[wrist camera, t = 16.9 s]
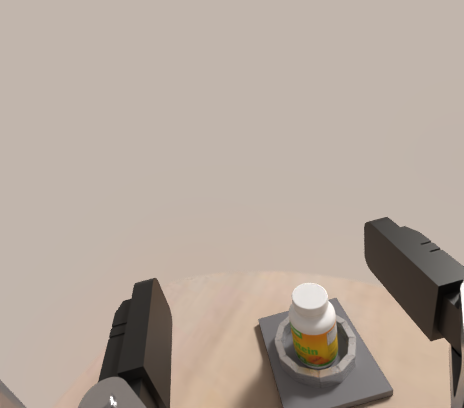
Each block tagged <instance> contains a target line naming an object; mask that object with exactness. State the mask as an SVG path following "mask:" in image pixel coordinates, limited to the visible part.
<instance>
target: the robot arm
mask: <svg viewBox="0 0 464 408" xmlns="http://www.w3.org/2000/svg"><path fill="white" fill-rule="evenodd" d="M364 237H365V238H364V242H365V243H364V245H365V259H366V262H367V265H368V267H369V269H370V270H371V271H372V273H373V274H374V275H375V276H376V277H377V278H378V280H379V281H380V282H381V283H382V284H383V286H384V287H385V288H386V289H387V290H388V292H389V293H390V294H391V295H392V296H393V297H394V299H395V300H396V301H397V302H398V303H399V304H400V306H401V307H402V308H403V309H404V310H405V312H406V313H407V314H408V315H409V316H410V317H411V319H412V320H413V321H414V322H415V323H416V325H417V326H418V327H419V328H420V329H421V330H422V332H423V333H424V334H425V335H426V336H427V337H428V339H429V340H430V341H434V340H437V339H441V338H445V339H446V340H447V341H448V342H449V343H450V346H449V367H450V391H451V408H464V266H462V265H461V264H460V263H459V262H457V261H456V260H455V259H454V258H452V257H451V256H450V255H448V254H447V253H446V252H445V251H443V250H440V248H439V247H438V246H437V245H436V244H434V243H431V241H430V240H429V239H428V238H426V237H425V236H424V235H422V234H421V233H420V232H418V231H415V230H413V229H410V228H408V227H405V226H404V227H399V226H398V225H397V224H396V223H394V222H393V221H392V220H390V219H389V218H388V217H385V218H381V219H377V220H373V221H369V222H366V223H365V227H364ZM109 337H110V339H109V340H108V344H107V348H106V352H105V356H104V360H103V364H102V369H101V373H100V377H99V381H98V383H97V384H95V385H94V386H93V387H92V388H91V389H90V390H89V391H88V392H87V393H86V394H85V396H84V397H83V398H82V400H81V402H80V404H79V406H78V408H170V385H171V351H172V316H171V311H170V308H169V305H168V303H167V301H166V298H165V296H164V294H163V291H162V289H161V287H160V284H159V282H158V280H157V279H156V278H153V279H149V280H145V281H142V282H138V283H135V285H134V288H133V293H132V299H129V300H125V301H123V302H122V304H121V305H120V307H119V308H118V310H117V311H116V313H115V316H114V320H113V324H112V329H111V332H110V336H109ZM0 408H26V407H25V406H24V405H23V403H22V402H21V401H20V400H19V399H18V398H17V397H16V396H15V395H14V394H13V393H12V392H11V391H10V390H9V389H8V388H7V386H6V385H5V384H4V383H3V382H2V381H1V380H0Z"/></svg>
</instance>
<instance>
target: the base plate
mask: <svg viewBox="0 0 464 408" xmlns="http://www.w3.org/2000/svg"><path fill="white" fill-rule="evenodd" d="M328 301H329V302H330V303H331V304H332V305H333V307H334V310H335V314H336V315H338V316H339V317H341V318H343V319H344V320H346V321H347V323H348V325H349V326H350V328H351V330H352V331H353V333H354V335H355V336H356V366H355V368H354V369H353V370H352V371H351V373H350V374H349V375H348V376H347V377H346V379H345V380H344V381H343V382H341V383H338V384H334V385H331V386H327V387H324V388H318V387H313V386H309V385H305V384H301V383H299V382H297V381H296V380H295V379H294V378H292V377H291V376H290V375H289V374H288V373H287V372H286V371H285V370H284V369H283V368H282V366H281V362H280V359H279V356H278V353H277V349H276V345H275V337H276V334H277V330H278V327H279V324H280V323H281V322H282V321H283V320H285V319H286V318H287V317H288V316H289V311H286V312H283V313H279V314H275V315H272V316H268V317H264V318H261V319H258V320H259V324H260V328H261V331H262V335H263V338H264V342H265V345H266V349H267V352H268V356H269V359H270V363H271V366H272V370H273V373H274V377H275V380H276V384H277V387H278V391H279V394H280V398H281V402H282V405H283V408H349V407H353V406H356V405H360V404H363V403H367V402H370V401H374V400H377V399H381V398H384V397H388V396H391V395H393V389H392V387H391V385H390V384H389V382H388V381H387V379H386V377H385V376H384V374H383V372H382V371H381V369H380V368H379V366H378V364H377V363H376V361H375V360H374V358H373V356H372V355H371V353H370V351H369V350H368V348H367V347H366V345H365V343H364V342H363V340H362V339H361V337H360V335H359V334H358V332H357V330H356V329H355V327H354V326H353V324H352V322H351V321H350V319H349V318H348V316H347V314H346V313H345V311H344V309H343V308H342V306H341V305H340V303H339V301H338V300H337V298H334V299H330V300H328ZM337 340H338V355H337V358H336V360H335V361H334V362H333V363H332V364H331V365H330V366H328V367H325V368H321V369H316V368H311V367H308V366H306V365H304V364H303V363H302V362H301V361H300V360H299V359H298V357H297V356H296V353H295V349H294V344H293V337H292V332H291V333H290V334H289V335H288V336H287V337H286V341H285V345H284V350H285V353H286V355H287V356H288V357H289V358H290V359H291V360H293V361H294V362H295V363H296V364H297V365H298V366H300V367H304V368H308V369H313V370H318V371H319V370H323V369H327V368H330V367H334V366H337V365H338V364H339V363H340V361H341V360H342V359H343V358H344V357H345V356H346V355H347V353H348V344H347V343H346V341H345V339H344V337H343V336H342V334H341V333H339V332H338V331H337Z"/></svg>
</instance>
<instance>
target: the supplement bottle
mask: <svg viewBox="0 0 464 408" xmlns="http://www.w3.org/2000/svg"><path fill="white" fill-rule="evenodd" d="M289 321H290V326H291V332H292V337H293V344H294V349H295V353H296V356H297V357H298V359H299V360H300V361H301V362H302V363H303V364H304V365H306V366H308V367H311V368H316V369H321V368H325V367H328V366H330V365H331V364H332V363H333V362H334V361H335V360H336V358H337V355H338V340H337V326H336V314H335V310H334V307H333V305H332V304H331V303H330V302H329V301H328V295H327V292H326V290H325V289H324V288H323V287H322V286H320V285H318V284H315V283H304V284H301V285H299V286H297V287H296V288H295V289H294V290H293V292H292V304H291V306H290V308H289Z"/></svg>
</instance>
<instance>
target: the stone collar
mask: <svg viewBox="0 0 464 408" xmlns="http://www.w3.org/2000/svg"><path fill="white" fill-rule="evenodd" d="M336 326H337V331H338V332H339V333H341V334H342V336H343V337H344V339H345V341H346V343H347V344H348V353H347V355H346V356H345V357H344V358H343V359H342V360H341V361H340V363H339V364H338V365H337V366H334V367H330V368H327V369H323V370H319V371H318V370H313V369H308V368H304V367H300V366H298V365H297V364H296V363H295V362H294V361H293V360H291V359H290V358H289V357H288V356H287V355H286V353H285V350H284V345H285V341H286V337H287V336H288V335H289V334H290V333H291V326H290V321H289V316H288V317H287V318H286V319H285V320H283V321H282V322H281V323H280V324H279V327H278V330H277V334H276V337H275V345H276V349H277V353H278V356H279V359H280V362H281V366H282V368H283V369H284V370H285V371H286V372H287V373H288V374H289V375H290V376H291V377H292V378H294V379H295V380H296V381H297V382H299V383H301V384H305V385H309V386H313V387H318V388H324V387H327V386H331V385H334V384H338V383H341V382H343V381H344V380H345V379H346V377H347V376H348V375H349V374H350V373H351V371H352V370H353V369H354V368H355V366H356V336H355V335H354V333H353V331H352V330H351V328H350V326H349V325H348V323H347V321H346V320H344V319H343V318H341V317H339V316H338V315H336Z"/></svg>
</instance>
